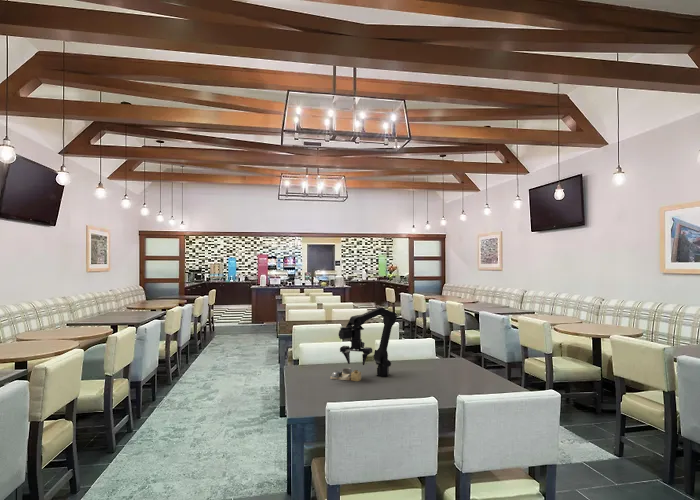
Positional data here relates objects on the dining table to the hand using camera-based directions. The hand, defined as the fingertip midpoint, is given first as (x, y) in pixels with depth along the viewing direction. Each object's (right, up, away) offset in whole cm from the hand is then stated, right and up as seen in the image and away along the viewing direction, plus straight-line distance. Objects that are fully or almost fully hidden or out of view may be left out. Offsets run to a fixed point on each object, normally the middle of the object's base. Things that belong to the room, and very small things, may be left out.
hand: (356, 364), depth 252 cm
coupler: (0, -9, -1) cm, 9 cm away
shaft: (-12, -8, +3) cm, 15 cm away
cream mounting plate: (-7, -9, +7) cm, 14 cm away
